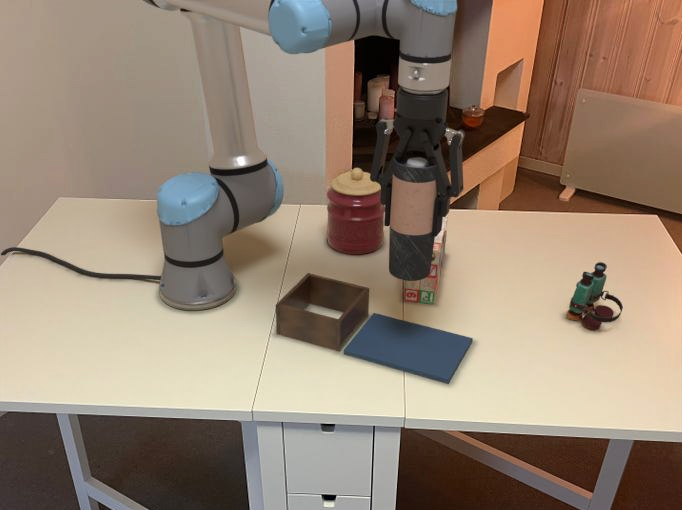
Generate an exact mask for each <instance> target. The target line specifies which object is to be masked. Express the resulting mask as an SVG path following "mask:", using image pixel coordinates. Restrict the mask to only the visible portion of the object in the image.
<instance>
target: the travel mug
mask: <svg viewBox="0 0 682 510" xmlns="http://www.w3.org/2000/svg"><path fill="white" fill-rule="evenodd" d="M436 168H437V166H436V165H435V166H431V164H430V161H429V159H428V158H427V156H426V153H425V152H422V151H419V150H417V149H413V150H411V149H410V150H407V152H406V154H405V156H404V158H403V159H402V160H401V161H400V162H399V163H398V162H397V161H396V160H395V158H394V166H393V181H392V182H391V184H392V197H391V213H390V225H389V235H388V237H389V238H388V239H389V241H388V243H389V244H388V272H389V274H390V275H391V276H392V277H393V278H396V279H397V280H400V281H418V280H422V279H424V278H426V277H427V276H428V275H429V274H430V270H431V263H432V255H433V247H434V239H435V236H432V228H433V217H434V205H435V198H436V197H437V196H438V195H439V191H438V188H437V184H436V181H435V180H436Z"/></svg>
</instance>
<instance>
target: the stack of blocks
mask: <svg viewBox="0 0 682 510" xmlns="http://www.w3.org/2000/svg"><path fill="white" fill-rule="evenodd" d="M447 227H448V217H447V216H446V217H443V220H442V230H441V231H440V233H439V234H438V235H437V236H436V237H435V239H434V247H433V255H432V263H431V270H430V274H429V275H428V276H427V277H426V278H424V279H422V280H418V281H405V280H404V281H405V283H404V290H403V291H404V292H403V301H404V302H410V303H416V304H417V303H419V304H427V305H434V304H435V300H436V297H437V293H438V290H439V289H438V288H439V286H440V285H439V284H440V277H441V271H442V268H443V264H444V260H445V253H446V244H447V231H448V230H447Z"/></svg>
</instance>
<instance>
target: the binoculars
mask: <svg viewBox="0 0 682 510" xmlns="http://www.w3.org/2000/svg"><path fill="white" fill-rule="evenodd" d="M593 268H594V271H592V272H589V271H583V272H582V274H581V275H582V276H581V277H582V278H581V279H579V281H577V282H576V285H575V287H576V288H575V289H574V292H573V295H572V297H571V298H570V302H569V306H568V308H569V309H568V310H567V312H566V315H565V316H566V318H567V319H568V320H574V321H575V320H576V321H577V320H580V321H581V323H582V324H583V325H584V327H585V328H587V329H589V330H592V331H598V330H599V329H600V327H601V325H602V323H612V322H614V321H616V320H618V319H619V318H620V316H621V315H622V312H623V308H624V306H623V303H622V301H621V300H620V299H619V298H618V297H616V296H615V295H614V294H613V295H612V294H610V293H609V291H608V290H604V287H605V284H606V280H607V277H608V276H607V274H606V273H605V272H606V270H607V268H608V265H607V264H606V263H605V262H603V261H598V262H596V263H595V265H594V267H593ZM604 294H605V295H604ZM603 296H604V297H603ZM600 299H601V300H603V301H606V300H609V301H612V302H614V303H615V304H616V305H617V306H618V308H619V310H620V312H619V313H618V314H617V315H614V314H615V313H614V310H613V309H612V308H611V307H610V306H608V305H604V304H598V305H596V306H595V303H597V302H598V301H600Z"/></svg>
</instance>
